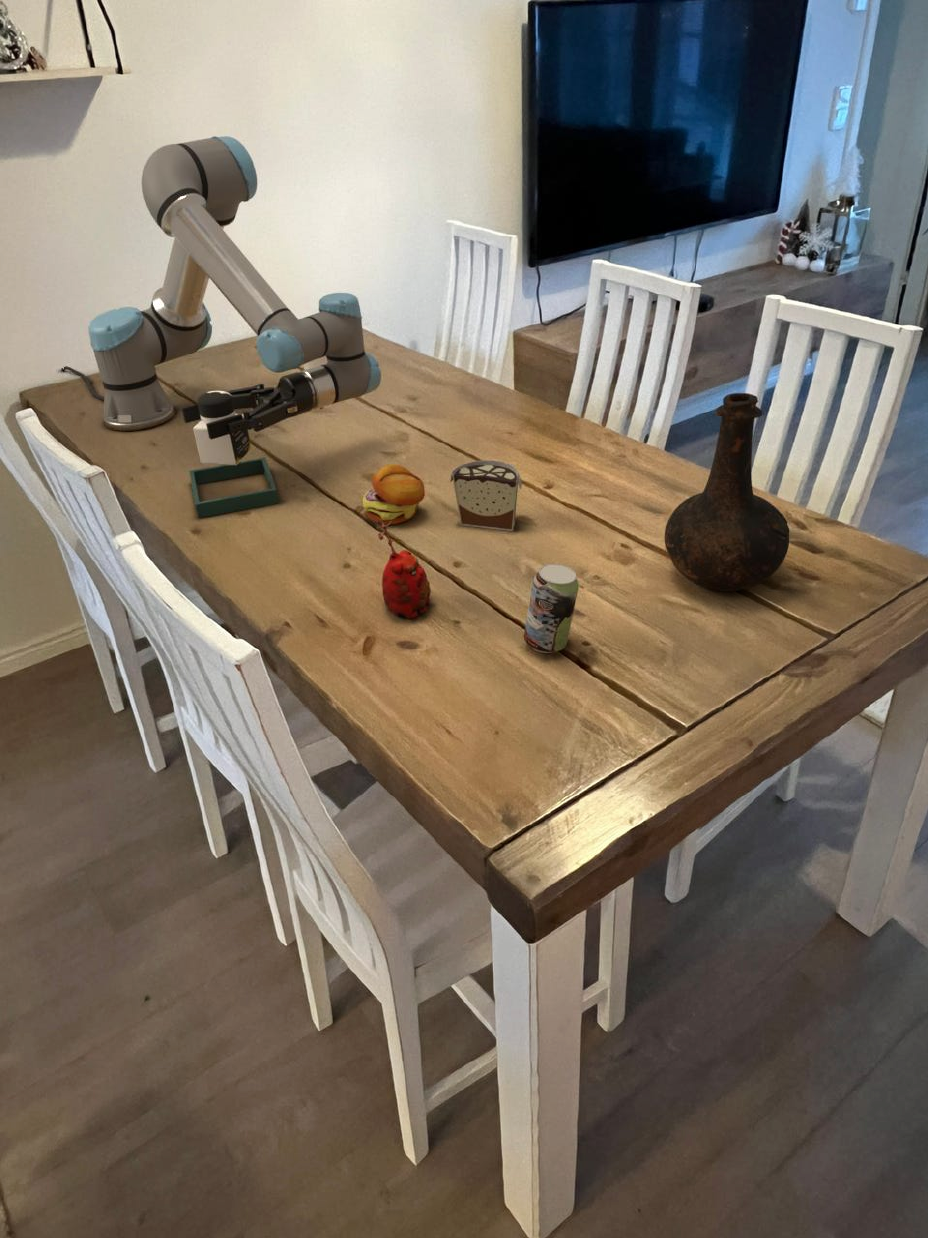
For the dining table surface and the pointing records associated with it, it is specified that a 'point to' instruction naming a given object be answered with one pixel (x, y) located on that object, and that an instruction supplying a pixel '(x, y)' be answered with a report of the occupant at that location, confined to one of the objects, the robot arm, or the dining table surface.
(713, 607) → the dining table surface
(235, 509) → the tray
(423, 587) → the red clay folk toy
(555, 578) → the beverage can
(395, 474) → the cheeseburger
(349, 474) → the dining table surface
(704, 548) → the glass bottle
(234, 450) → the medicine bottle
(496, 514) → the cream brown domed block
